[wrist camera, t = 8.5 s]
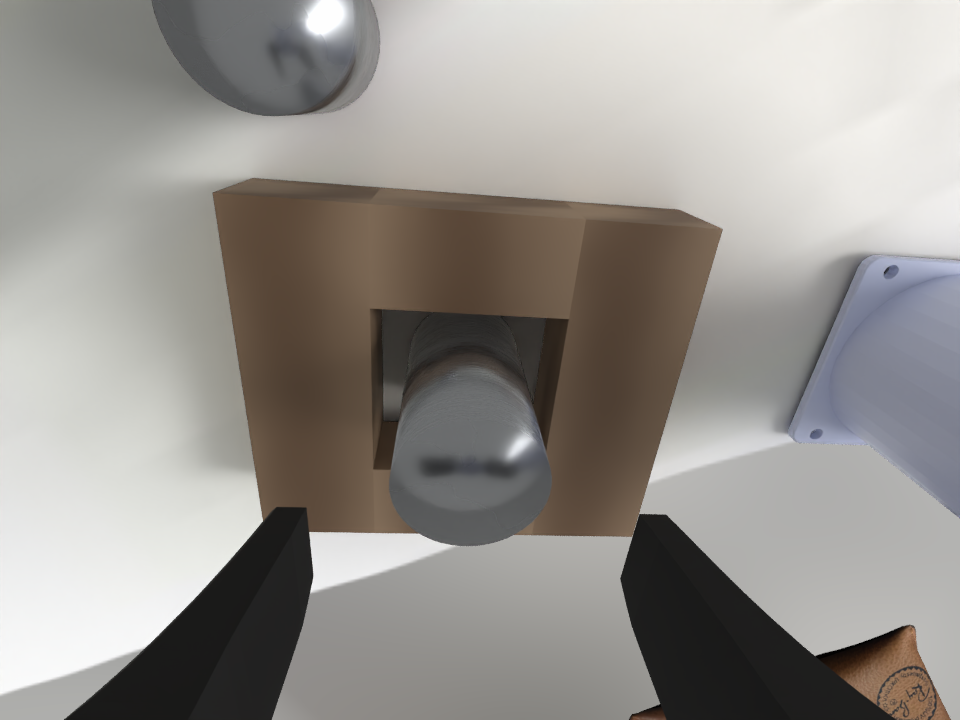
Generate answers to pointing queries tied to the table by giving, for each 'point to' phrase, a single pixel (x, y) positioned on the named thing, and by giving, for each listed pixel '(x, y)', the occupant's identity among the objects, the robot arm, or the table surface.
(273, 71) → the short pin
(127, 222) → the table surface
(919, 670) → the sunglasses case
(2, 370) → the table surface
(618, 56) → the table surface
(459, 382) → the tall pin
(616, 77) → the table surface
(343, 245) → the wooden square frame
